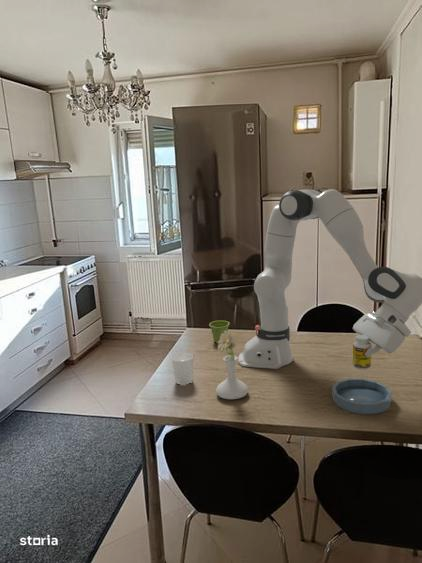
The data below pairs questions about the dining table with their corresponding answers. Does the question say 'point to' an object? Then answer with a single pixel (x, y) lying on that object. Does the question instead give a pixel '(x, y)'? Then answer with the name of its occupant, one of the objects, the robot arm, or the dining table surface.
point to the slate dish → (361, 396)
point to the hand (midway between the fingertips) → (360, 351)
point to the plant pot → (218, 329)
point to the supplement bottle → (361, 352)
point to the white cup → (183, 368)
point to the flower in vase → (230, 372)
